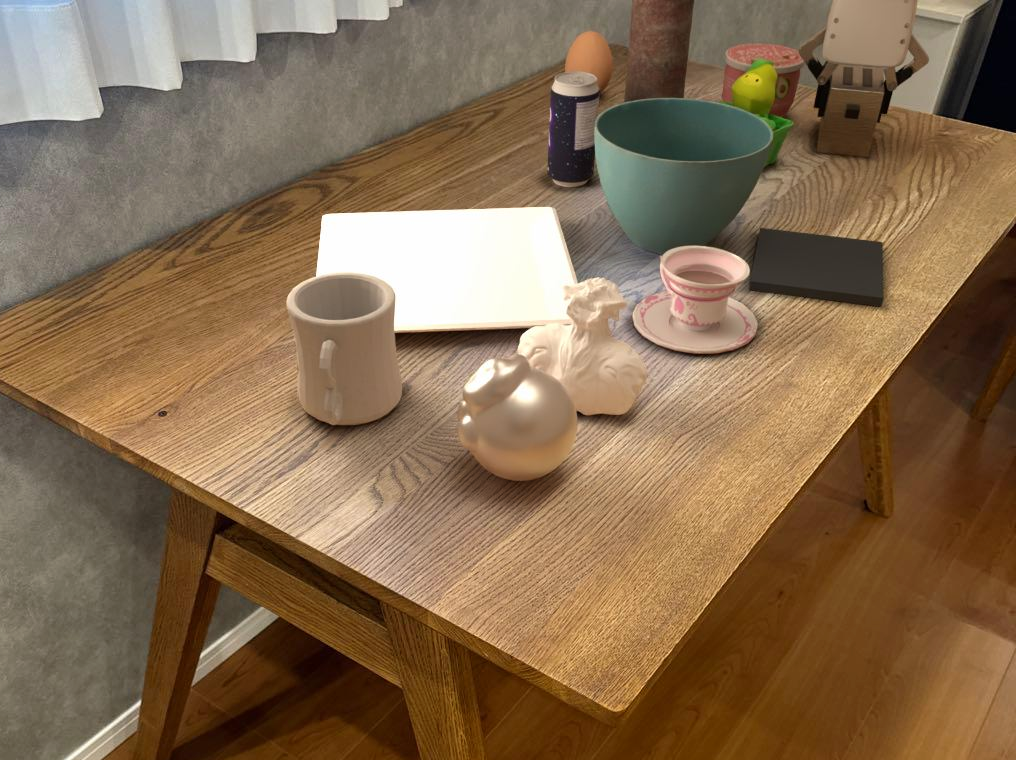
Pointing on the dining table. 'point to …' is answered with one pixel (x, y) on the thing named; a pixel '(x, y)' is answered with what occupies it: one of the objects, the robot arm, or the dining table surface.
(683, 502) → the dining table surface
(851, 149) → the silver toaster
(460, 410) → the cream glossy round piece
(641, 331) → the teacup
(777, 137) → the fruit basket
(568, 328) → the bust
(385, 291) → the mug
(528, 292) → the plate
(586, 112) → the beverage can
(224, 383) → the dining table surface
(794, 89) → the container
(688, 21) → the candle
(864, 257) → the mat
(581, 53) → the egg
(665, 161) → the plant pot
